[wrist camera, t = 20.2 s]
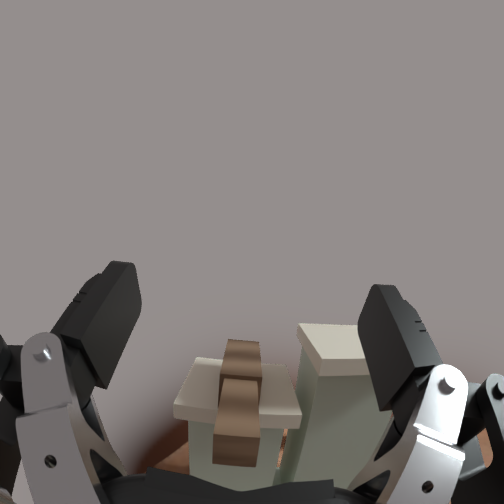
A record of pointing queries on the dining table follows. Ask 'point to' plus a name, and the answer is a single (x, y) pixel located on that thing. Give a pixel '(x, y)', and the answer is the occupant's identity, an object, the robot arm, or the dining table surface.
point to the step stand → (294, 415)
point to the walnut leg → (238, 406)
